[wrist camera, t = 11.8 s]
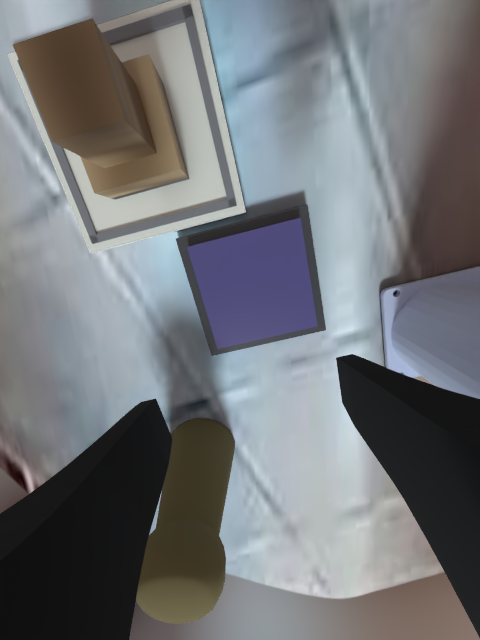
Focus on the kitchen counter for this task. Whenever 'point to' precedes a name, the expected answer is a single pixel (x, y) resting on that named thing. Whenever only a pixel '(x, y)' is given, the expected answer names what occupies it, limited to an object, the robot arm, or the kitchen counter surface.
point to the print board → (191, 126)
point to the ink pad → (255, 280)
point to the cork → (189, 526)
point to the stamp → (104, 110)
